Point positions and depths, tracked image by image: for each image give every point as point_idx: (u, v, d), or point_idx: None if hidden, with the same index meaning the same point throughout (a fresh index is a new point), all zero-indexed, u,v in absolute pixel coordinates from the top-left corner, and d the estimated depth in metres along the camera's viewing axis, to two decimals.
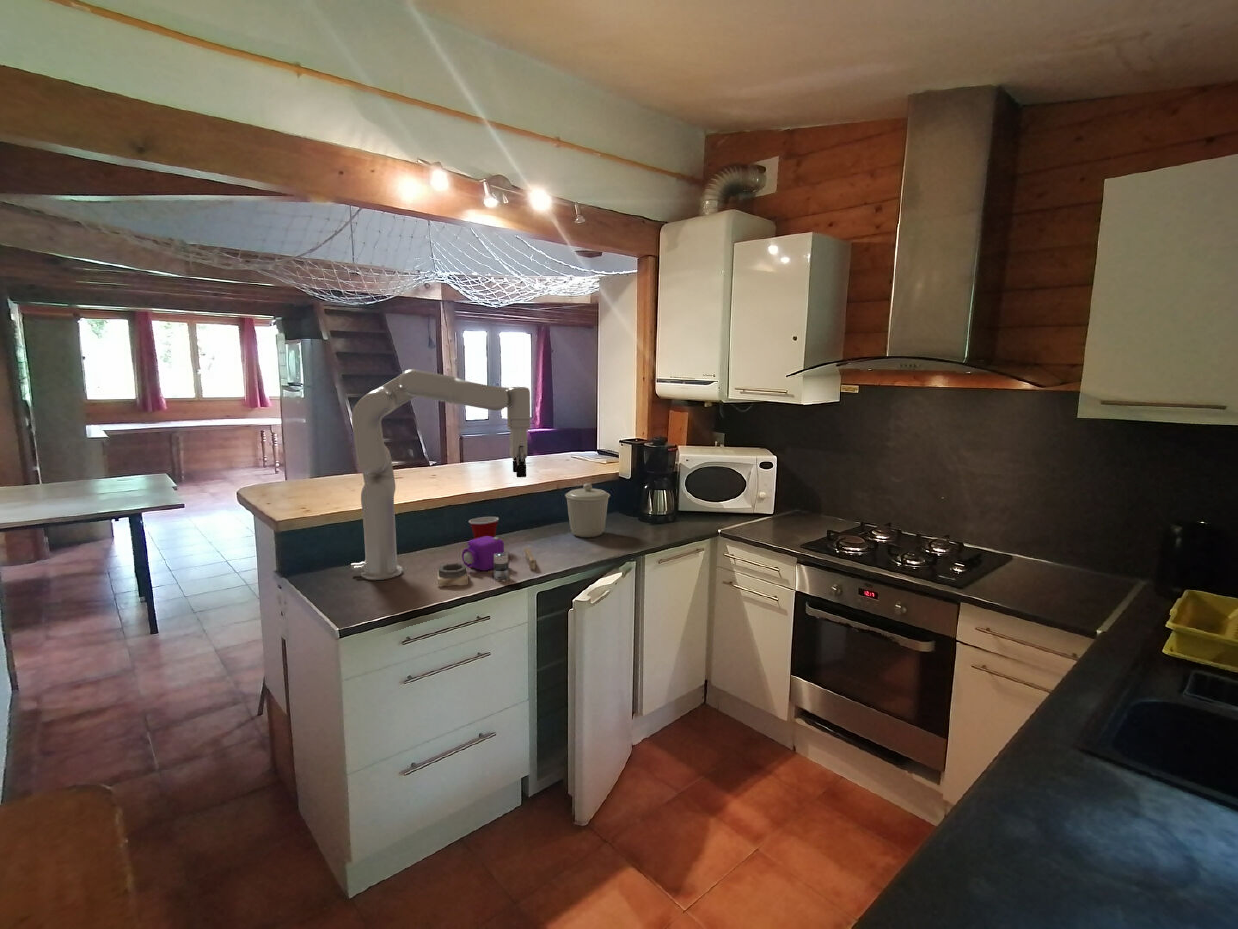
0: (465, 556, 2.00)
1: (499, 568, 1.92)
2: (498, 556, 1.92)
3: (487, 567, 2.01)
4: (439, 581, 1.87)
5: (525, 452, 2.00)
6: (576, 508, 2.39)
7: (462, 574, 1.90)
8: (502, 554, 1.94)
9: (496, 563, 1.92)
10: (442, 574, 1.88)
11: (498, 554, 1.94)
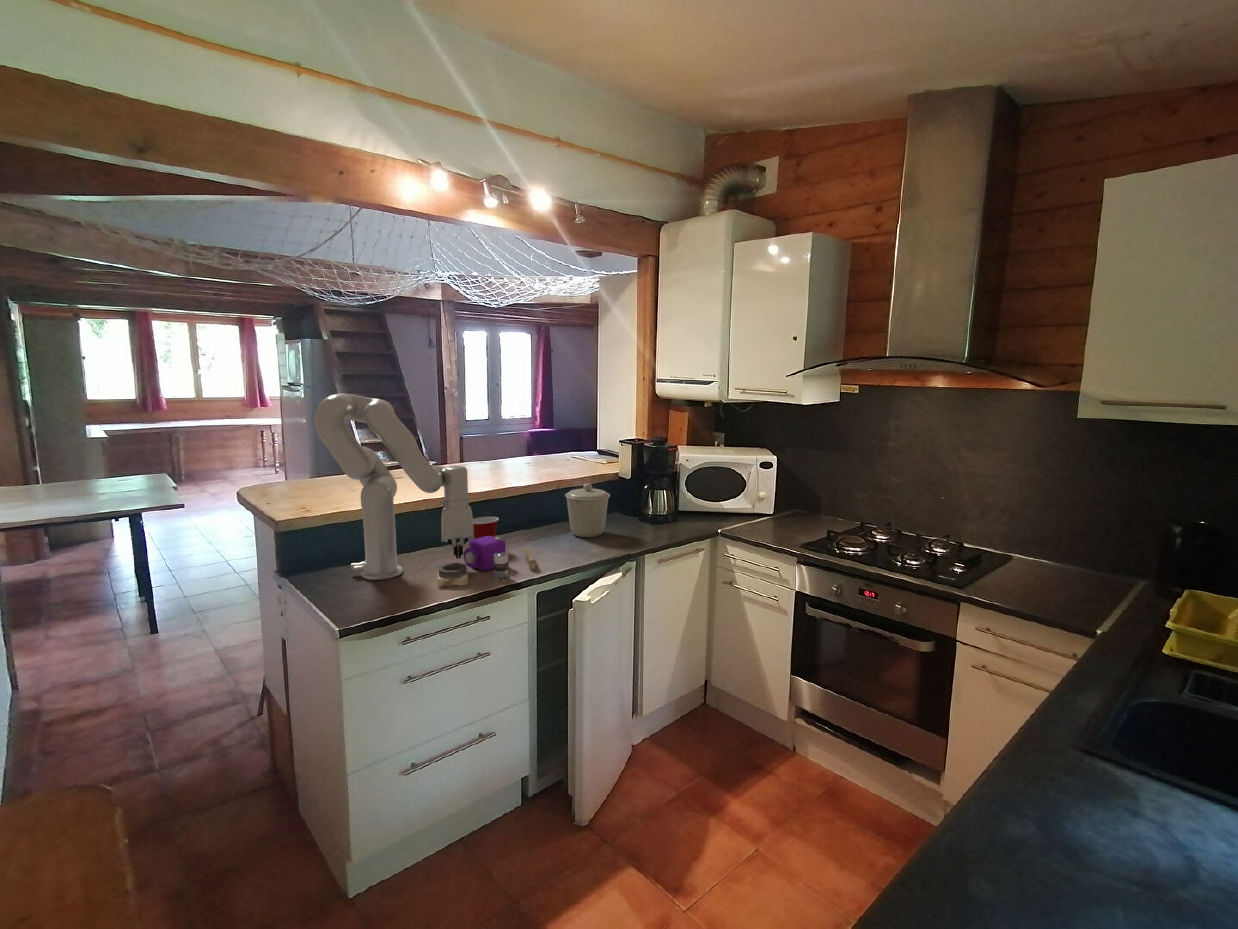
0: (466, 556, 2.00)
1: (499, 568, 1.92)
2: (498, 556, 1.92)
3: (488, 567, 2.01)
4: (439, 581, 1.87)
5: None
6: (575, 508, 2.39)
7: (462, 574, 1.90)
8: (502, 554, 1.94)
9: (496, 563, 1.92)
10: (442, 574, 1.88)
11: (498, 554, 1.94)
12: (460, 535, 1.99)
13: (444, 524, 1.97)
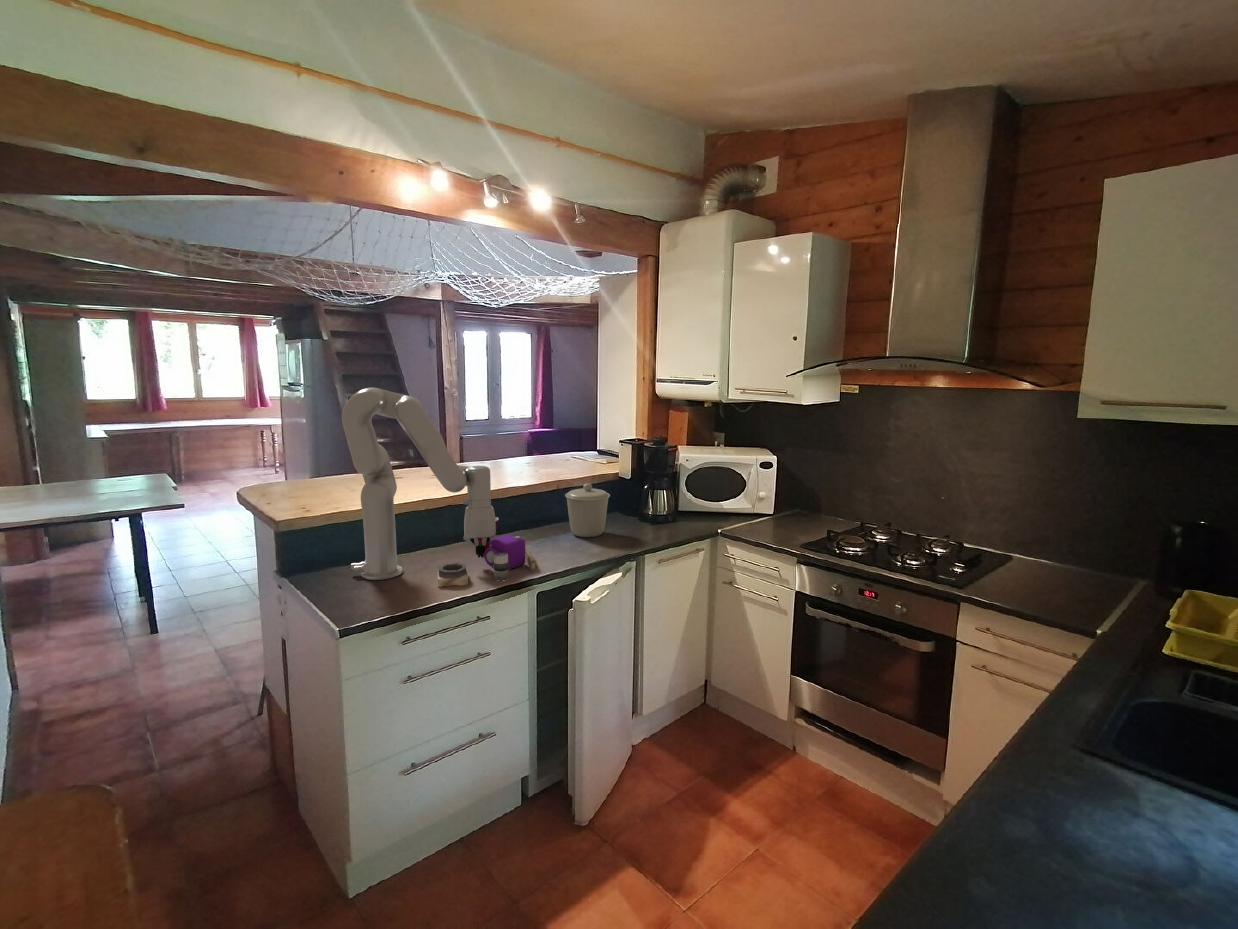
0: (488, 555, 2.01)
1: (499, 568, 1.92)
2: (498, 556, 1.92)
3: (509, 566, 2.03)
4: (439, 581, 1.87)
5: None
6: (575, 508, 2.39)
7: (462, 574, 1.90)
8: (502, 554, 1.94)
9: (496, 563, 1.92)
10: (442, 574, 1.88)
11: (498, 554, 1.94)
12: (482, 534, 2.01)
13: (467, 523, 1.99)
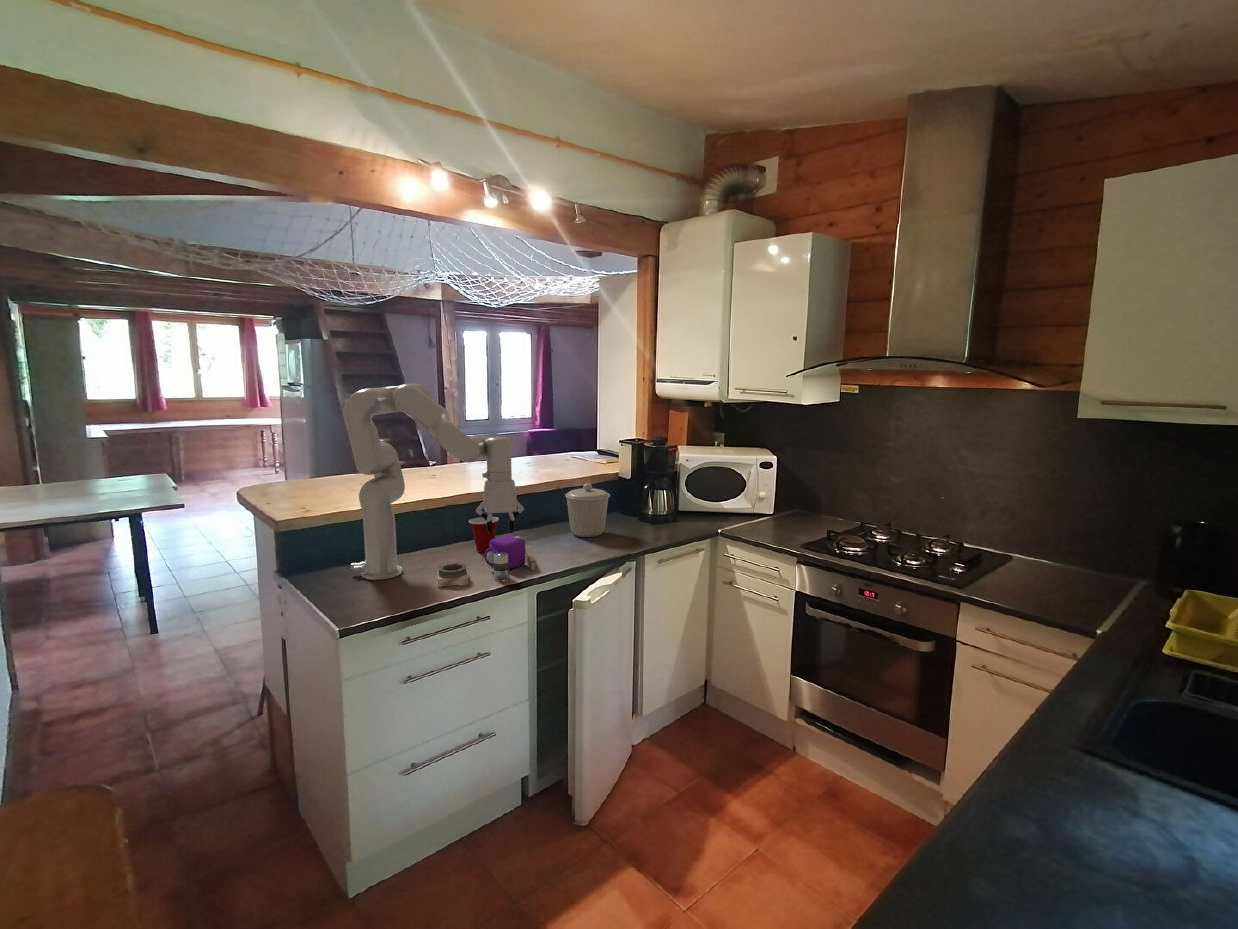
0: (488, 555, 2.01)
1: (499, 568, 1.92)
2: (498, 556, 1.92)
3: (509, 566, 2.03)
4: (439, 581, 1.87)
5: None
6: (575, 508, 2.39)
7: (462, 574, 1.90)
8: (502, 554, 1.94)
9: (496, 563, 1.92)
10: (442, 574, 1.88)
11: (498, 554, 1.94)
12: (503, 509, 1.89)
13: (487, 497, 1.87)
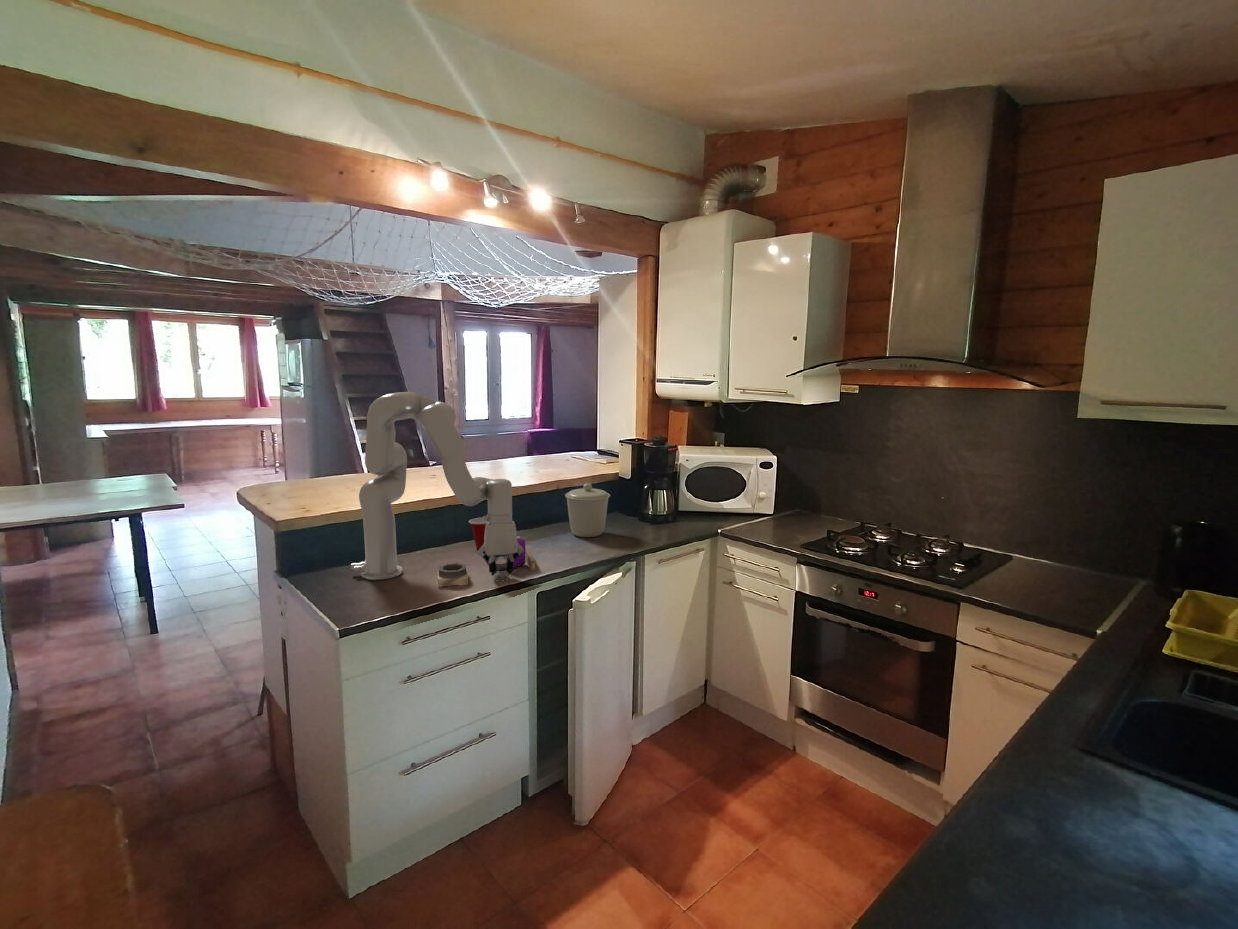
0: (488, 555, 2.01)
1: (499, 568, 1.92)
2: (498, 556, 1.92)
3: None
4: (439, 581, 1.87)
5: None
6: (575, 508, 2.39)
7: (462, 574, 1.90)
8: None
9: (496, 563, 1.92)
10: (442, 574, 1.88)
11: None
12: (504, 551, 1.91)
13: (488, 540, 1.89)
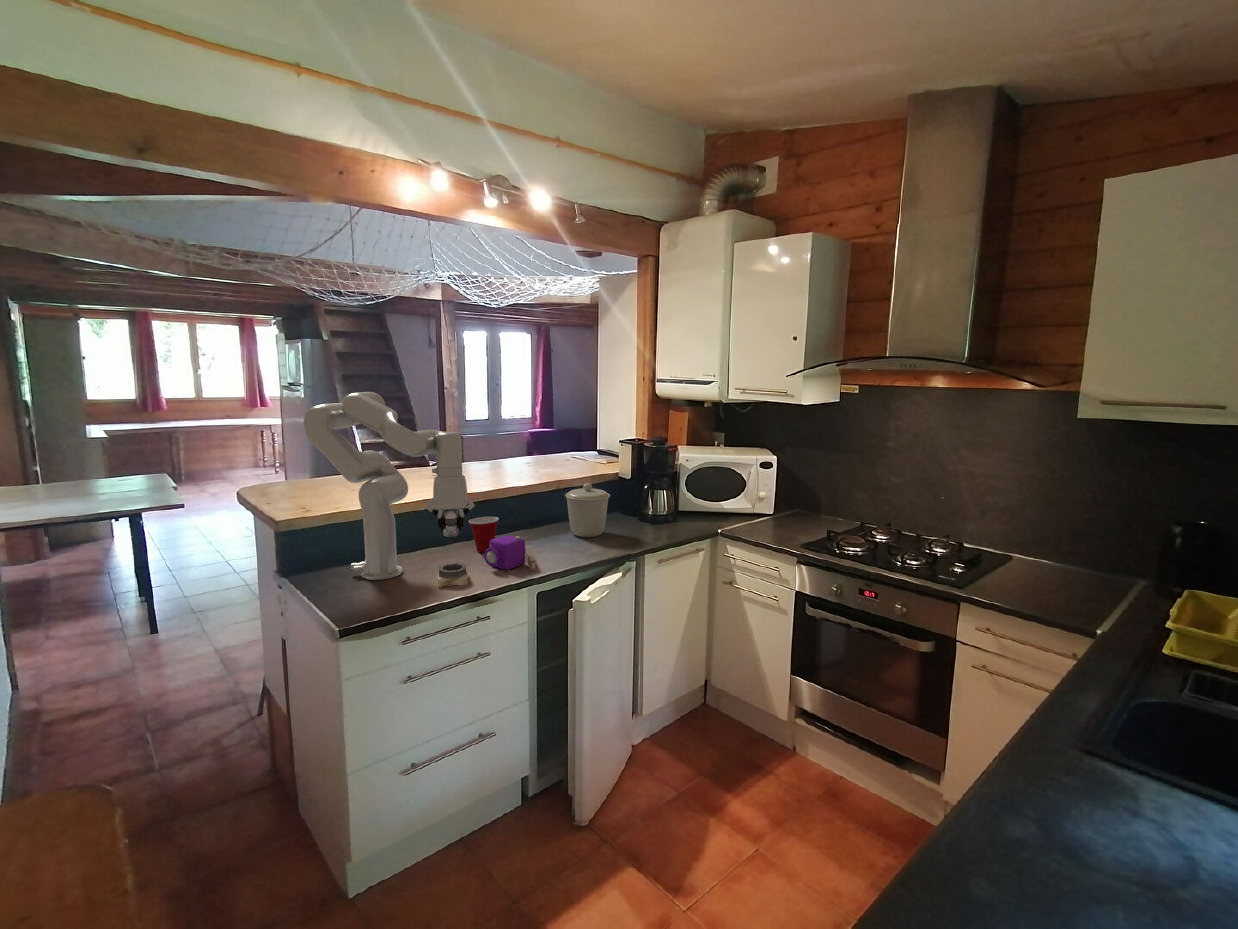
0: (488, 555, 2.01)
1: (448, 523, 1.87)
2: (447, 511, 1.87)
3: (509, 566, 2.03)
4: (439, 581, 1.87)
5: None
6: (575, 508, 2.39)
7: (462, 574, 1.90)
8: (452, 509, 1.88)
9: (445, 518, 1.87)
10: (442, 574, 1.88)
11: (448, 509, 1.88)
12: (453, 505, 1.86)
13: (436, 493, 1.84)
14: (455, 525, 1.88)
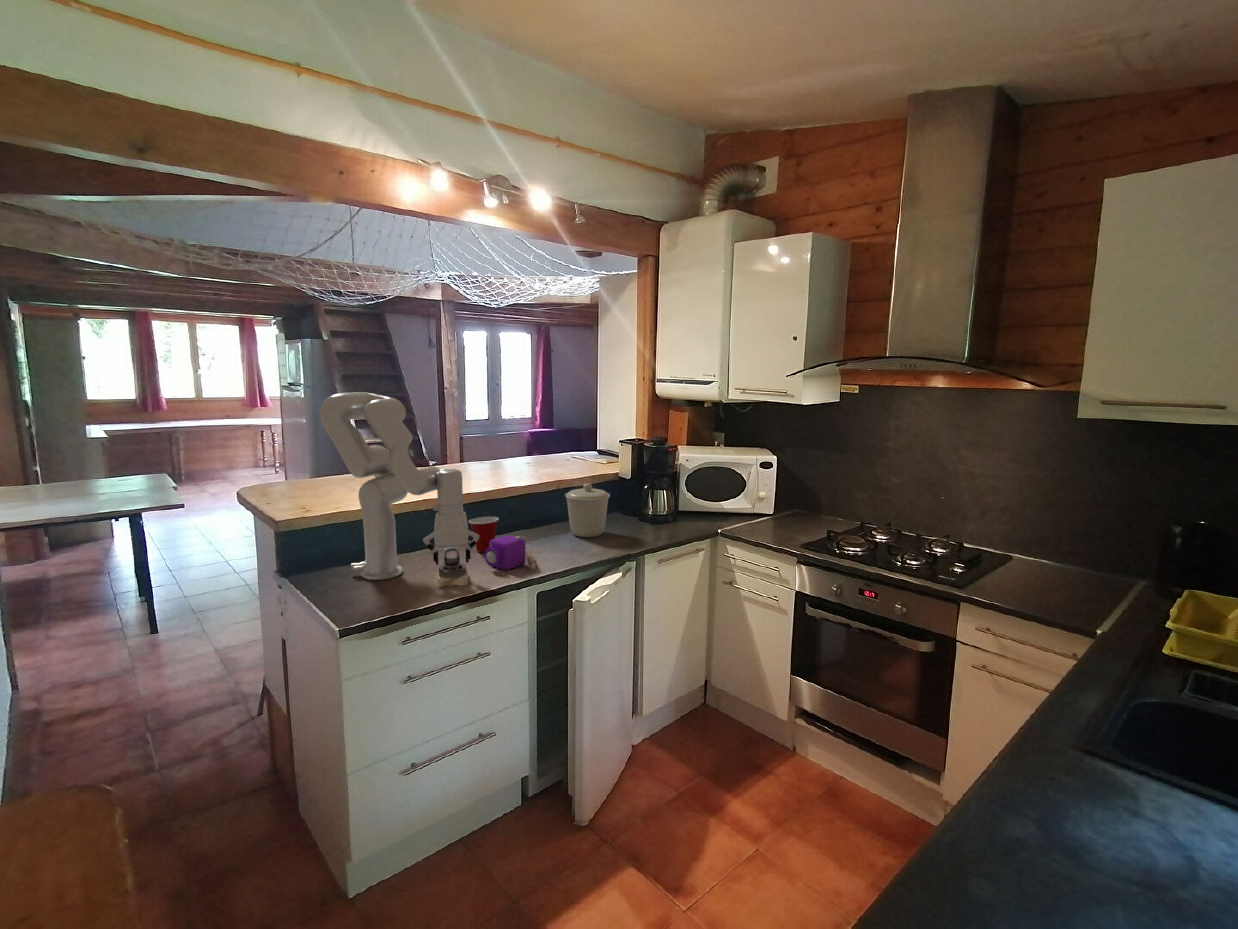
0: (488, 555, 2.01)
1: (449, 562, 1.89)
2: (448, 550, 1.89)
3: (509, 566, 2.03)
4: (439, 581, 1.87)
5: None
6: (576, 508, 2.39)
7: (462, 574, 1.90)
8: (453, 548, 1.90)
9: (446, 558, 1.89)
10: (442, 574, 1.88)
11: (449, 548, 1.90)
12: (454, 542, 1.88)
13: (437, 531, 1.86)
14: (456, 564, 1.90)
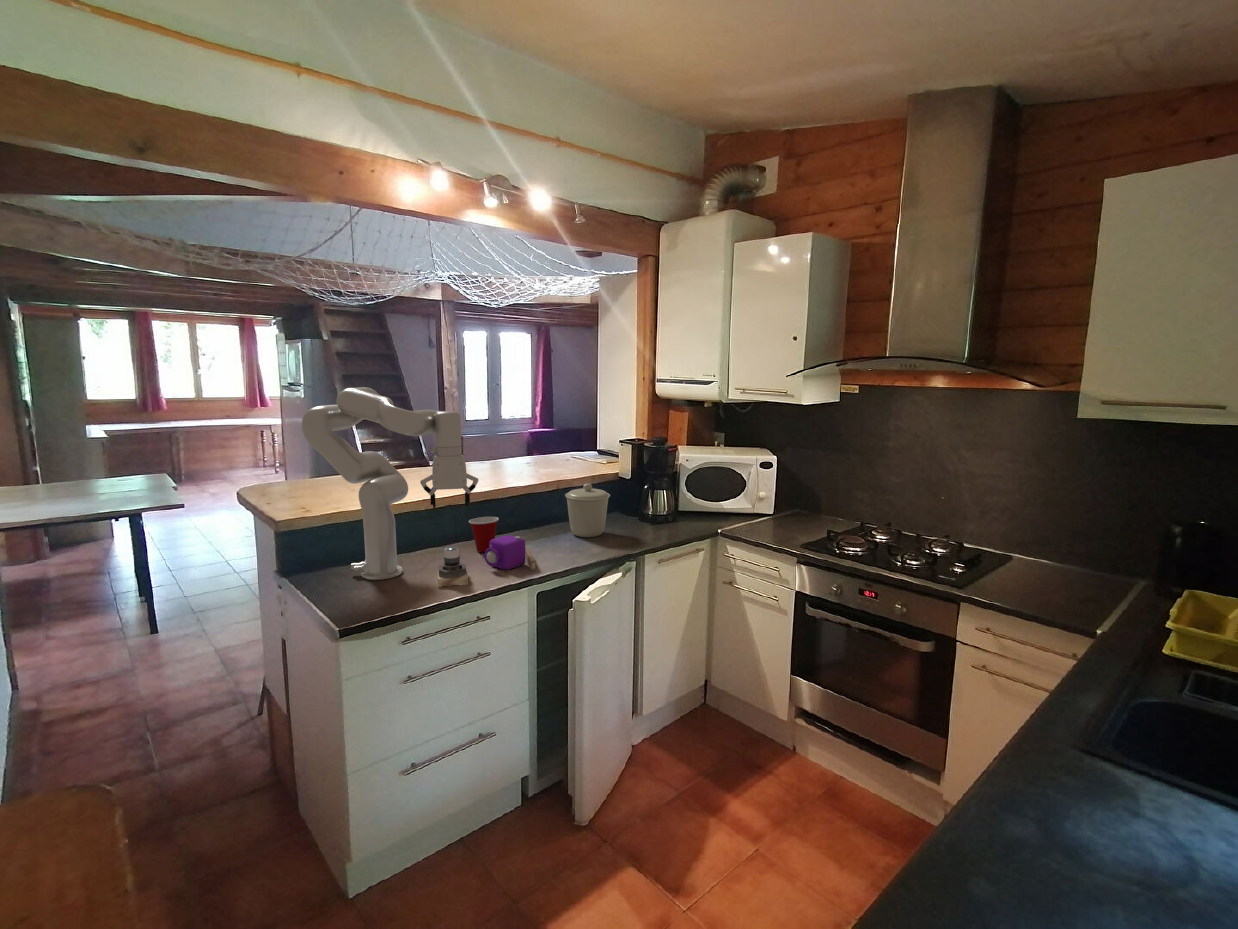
0: (488, 555, 2.01)
1: (449, 562, 1.89)
2: (448, 550, 1.89)
3: (509, 566, 2.03)
4: (439, 581, 1.87)
5: None
6: (576, 508, 2.39)
7: (462, 574, 1.90)
8: (453, 548, 1.90)
9: (446, 558, 1.89)
10: (442, 574, 1.88)
11: (449, 548, 1.90)
12: (452, 485, 1.85)
13: (435, 473, 1.83)
14: (456, 564, 1.90)
